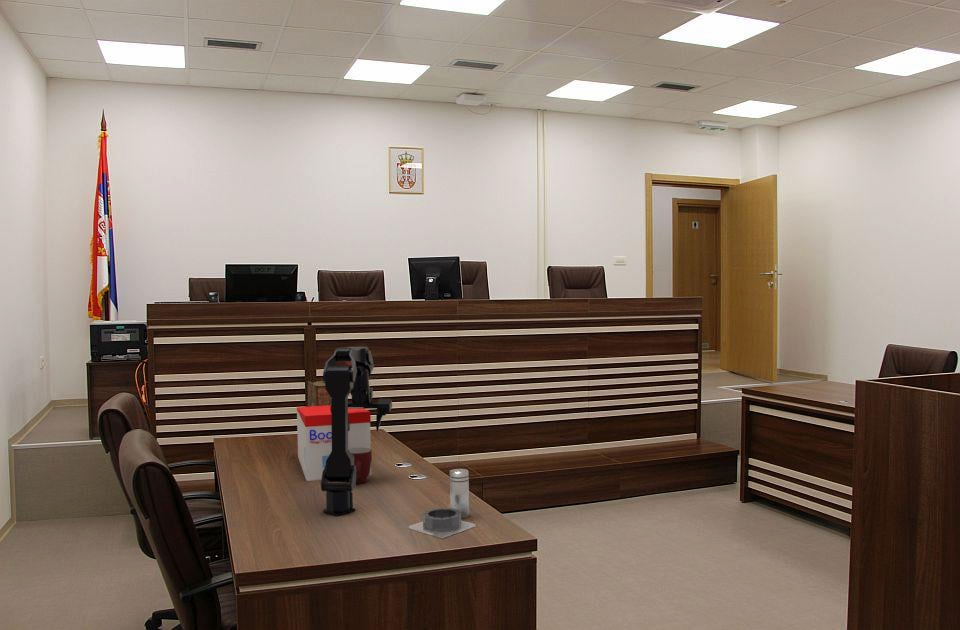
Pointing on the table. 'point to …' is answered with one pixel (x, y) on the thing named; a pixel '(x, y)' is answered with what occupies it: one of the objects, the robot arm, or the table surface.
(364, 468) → the mug
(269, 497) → the table surface
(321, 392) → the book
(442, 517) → the ring sleeve
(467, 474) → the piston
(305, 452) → the red-topped cereal carton
